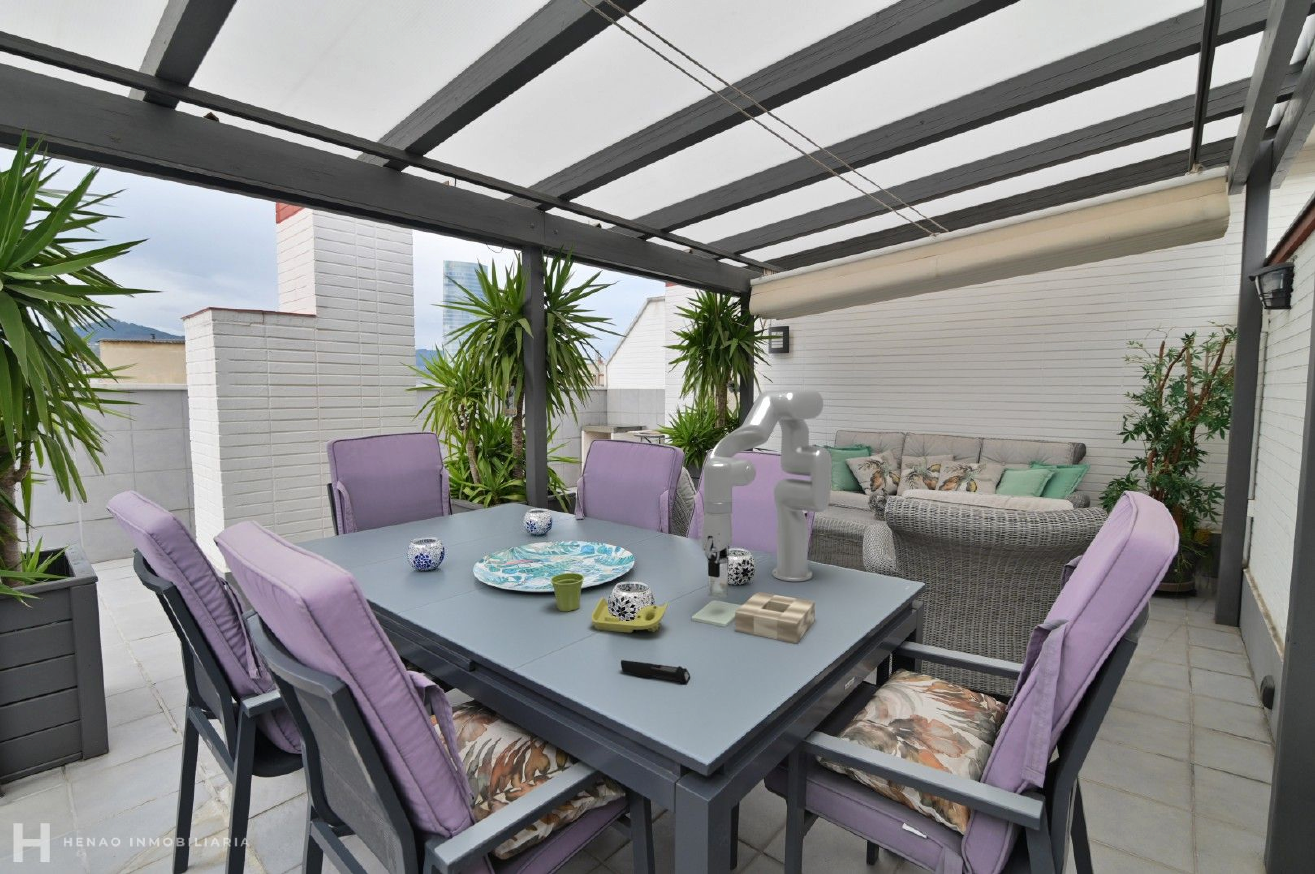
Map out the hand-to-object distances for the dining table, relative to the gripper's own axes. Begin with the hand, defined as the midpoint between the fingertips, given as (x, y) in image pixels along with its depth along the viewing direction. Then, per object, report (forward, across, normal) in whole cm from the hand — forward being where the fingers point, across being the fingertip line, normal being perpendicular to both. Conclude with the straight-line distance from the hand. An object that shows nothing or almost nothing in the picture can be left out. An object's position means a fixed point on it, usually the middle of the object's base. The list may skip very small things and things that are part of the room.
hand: (718, 572), depth 163 cm
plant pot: (+12, +15, -40) cm, 44 cm away
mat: (+12, 0, 0) cm, 12 cm away
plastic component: (+12, +18, -17) cm, 28 cm away
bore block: (+12, 0, +16) cm, 20 cm away
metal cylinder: (+6, 0, 0) cm, 6 cm away
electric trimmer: (+13, +38, +2) cm, 40 cm away
